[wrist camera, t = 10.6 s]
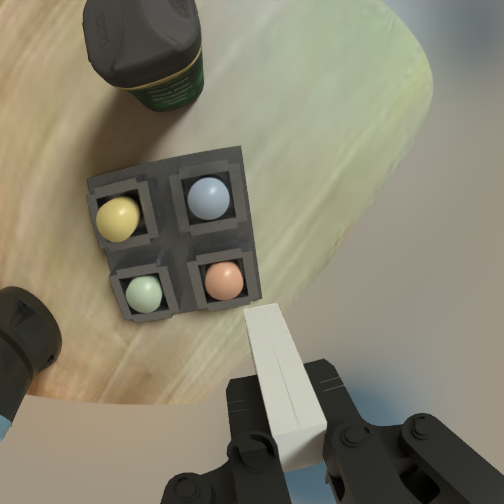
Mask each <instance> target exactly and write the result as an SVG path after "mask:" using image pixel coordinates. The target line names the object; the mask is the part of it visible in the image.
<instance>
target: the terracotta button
mask: <svg viewBox="0 0 504 504" xmlns="http://www.w3.org/2000/svg"><path fill="white" fill-rule="evenodd" d="M205 286H206V290H207V292H208V293H209V294H210V295H211V296H212V297H213V298H215V299H218V300H230V299H232V298H234V297H236V296H237V295H238V294H239V293H240V292H241V290H242V287H243V279H242V275H241V271H240V267H239V265H238V264H237V262H236V261H234V260H233V259H231V260H225V261H220V262H214V263H209V264H208V266H207V268H206V272H205Z"/></svg>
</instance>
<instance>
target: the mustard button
mask: <svg viewBox="0 0 504 504" xmlns="http://www.w3.org/2000/svg"><path fill="white" fill-rule="evenodd" d="M140 220H141V211H140V208H139V206H138V204H137V203H136V202H135V201H134V200H133V199H132V198H130V197H127V196H118V197H115V198H113V199H112V200H110V201H109V202H107V203H105V204H104V205H103V206H102V207H101V208H100V209H99V211H98V213H97V217H96V224H97V228H98V230H99V232H100V234H101V235H102V236H103V237H104V238H105V239H107V240H109V241H112V242H121V241H124V240H126V239H127V238H129V237H130V235H131V234H132V233H133V232H134V230H135V229H136V228H137V227H138V225H139V223H140Z"/></svg>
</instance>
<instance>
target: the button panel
mask: <svg viewBox="0 0 504 504" xmlns="http://www.w3.org/2000/svg"><path fill="white" fill-rule="evenodd" d="M204 176H214V177H217V178H219V179H220V180H221V181H223V183H224V184H225V185H226V188H227V190H228V193H229V198H230V200H229V206H228V208H227V210H226V211H225V213H224V214H223V215H221V216H220V217H218V218H216V219H212V220H204V219H201V218H199V217H197V216H196V215H194V214H193V213H192V211H191V210H190V208H189V205H188V194H189V191H190V189H191V187H192V185H193V184H194V182H195V181H196V180H198V179H199V178H201V177H204ZM87 183H88V187H89V192H90V194H89V195H87V196H86V199H87V203H88V207H89V211H90V215H91V219H92V223H93V226H94V230H95V234H96V237H97V241H98V244H99V248H100V249H101V248H104V250H105V253H106V256H107V259H108V263H109V266H110V269H111V274H110V275H109V279H110V282H111V285H112V287H113V290H114V293H115V296H116V299H117V301H118V304H119V307H120V309H121V312H122V314H123V317H124V319H125V320H134V323H137V322H145V321H152V320H159V319H166V318H172V314H176V313H183V312H189V311H195V310H201V309H207V308H208V310H209V312H210V311H216V310H222V309H227V308H233V307H239V306H244V305H249V304H250V302H249V301H252V300H258V299H262V293H261V286H260V279H259V271H258V264H257V257H256V250H255V242H254V235H253V228H252V221H251V214H250V207H249V199H248V192H247V185H246V178H245V171H244V164H243V157H242V150H241V146H235V147H228V148H222V149H216V150H210V151H204V152H198V153H193V154H188V155H182V156H177V157H173V158H168V159H163V160H158V161H154V162H150V163H145V164H141V165H137V166H133V167H129V168H125V169H121V170H117V171H113V172H109V173H106V174H102V175H99V176H95V177H92V178H88V179H87ZM118 196H127V197H130V198H132V199H133V200H134V201H135V202H136V203H137V204H138V206H139V208H140V211H141V220H140V223H139V225H138V227H137V228H136V229H135V230H134V232H133V233H132V234H131V235H130V237H129V238H127V239H126V240H124V241H121V242H112V241H109V240H107V239H105V238H104V237H103V236H102V235H101V234H100V232H99V230H98V228H97V224H96V217H97V213H98V211H99V209H100V208H101V207H102V206H103V205H104V204H105V203H107V202H109V201H110V200H112V199H113V198H115V197H118ZM231 259H233V260H234V261H236V262H237V264H238V265H239V267H240V271H241V275H242V279H243V287H242V290H241V292H240V293H239V294H238V295H237V296H236V297H234V298H232V299H230V300H218V299H215V298H213V297H212V296H211V295H210V294H209V293H208V292H207V290H206V286H205V272H206V268H207V266H208V264H209V263H214V262H220V261H225V260H231ZM152 273H155V274H157V275H158V276H159V277H160V280H161V284H162V287H163V294H162V298H161V302H160V305H159V307H158V308H157V309H156V310H155V311H153V312H150V313H141V312H138V311H136V310H134V309H133V308H132V307H131V306H130V305H129V304H128V302H127V299H126V291H127V288H128V286H129V284H130V282H131V280H132V278H133V277H134V276H140V275H146V274H152Z"/></svg>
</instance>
